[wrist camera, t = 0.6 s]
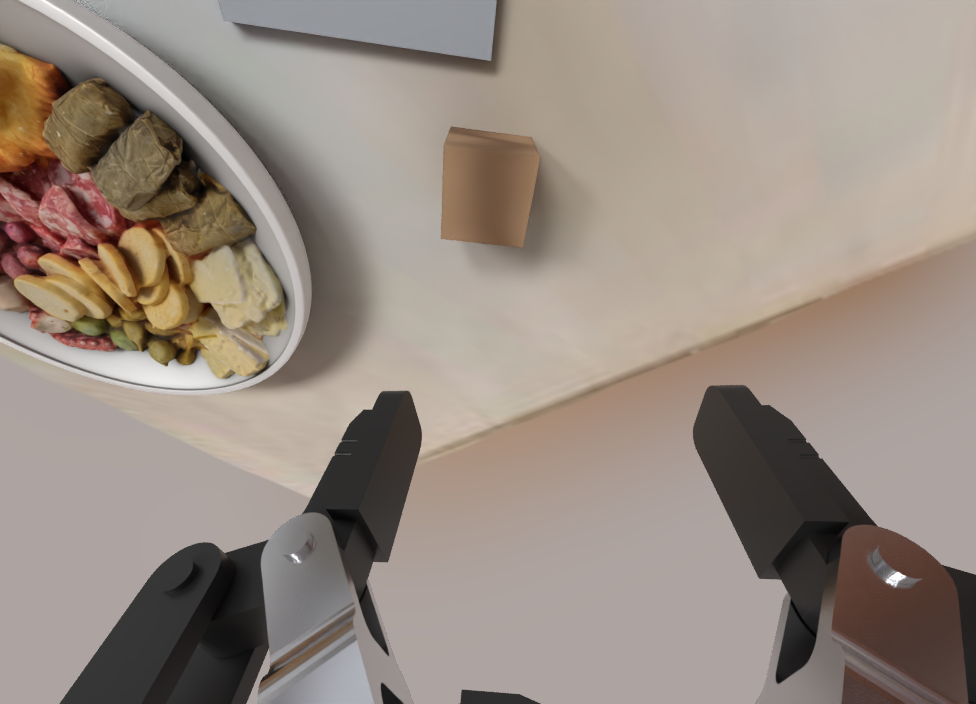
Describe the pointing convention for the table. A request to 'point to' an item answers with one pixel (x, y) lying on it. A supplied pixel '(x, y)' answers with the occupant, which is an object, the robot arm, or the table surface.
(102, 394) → the table surface
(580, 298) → the table surface
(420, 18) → the grey square plate
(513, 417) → the table surface
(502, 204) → the walnut block
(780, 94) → the table surface
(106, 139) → the bowl
